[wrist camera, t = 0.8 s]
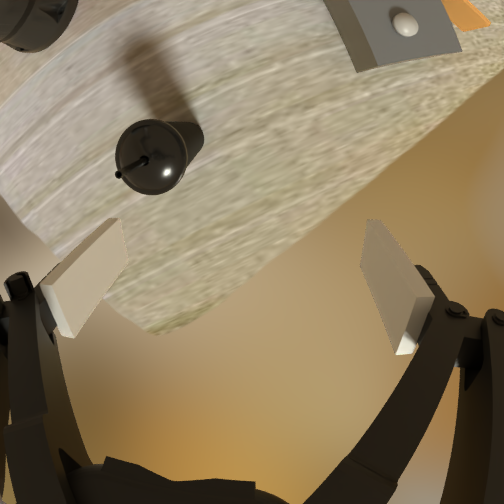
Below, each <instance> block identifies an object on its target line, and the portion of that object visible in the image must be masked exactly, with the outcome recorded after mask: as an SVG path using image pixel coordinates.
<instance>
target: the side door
mask: <svg viewBox="0 0 504 504" xmlns="http://www.w3.org/2000/svg"><path fill="white" fill-rule="evenodd" d="M441 1H442V3H443V5H444V7H445V9H446V12H447V14H448V16H449V18H450V21H452V22H453V23H454V24H455V25H456V26H457V27H458V28H459V29H461V30H462V31H463V32H465V31H469V30H474V29H478V28H483V27H488V26H490V24H491V22H490V21H489V20H488V19H487V18H486V17H485V16H484V15H483V14H482V13H481V12H480V11H479V10H478V9H477V8H476V7H475V6H474V5H473V4H472V3H470V2H469V1H468V0H441Z"/></svg>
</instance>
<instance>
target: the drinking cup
mask: <svg viewBox="0 0 504 504" xmlns="http://www.w3.org/2000/svg"><path fill="white" fill-rule="evenodd" d="M203 143H204V135H203V132H202V130H201V129H200V128H199V127H198V126H197V125H196V124H194V123H190V122H164V121H161V120H157V119H146V120H141V121H139V122H136V123H134V124H132V125H131V126H130V127H128V128H127V129H126V130H125V131H124V133H123V134H122V135H121V137H120V139H119V141H118V144H117V147H116V153H115V161H116V166H117V170H118V171H116V172H115V176H116V178H118V179H120V178H122V179H123V181H124V182H125V183H126V184H127V185H128V186H129V187H130V188H132V189H133V190H135V191H137V192H139V193H141V194H145V195H159V194H163V193H165V192H167V191H169V190H171V189H172V188H173V187H175V186H176V185H177V184H178V183H179V181H180V180H181V179H182V177H183V175H184V173H185V170H186V168H187V166H188V165H189V164H190V162H191V161H192V160H193V159H194V157H195V156H196V155H197V153H198V152H199V151H200V150H201V148H202V146H203Z"/></svg>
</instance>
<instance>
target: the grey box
mask: <svg viewBox="0 0 504 504" xmlns="http://www.w3.org/2000/svg"><path fill="white" fill-rule="evenodd" d="M323 1H324V3H325V4H326V6H327V8H328V10H329V12H330V14H331V16H332V18H333V20H334V22H335V24H336V26H337V28H338V31H339V33H340V35H341V37H342V39H343V41H344V44H345V46H346V48H347V50H348V53H349V55H350V57H351V60H352V62H353V64H354V67H355V69H356V72H357V73H358V72H362V71H366V70H370V69H374V68H378V67H383V66H387V65H391V64H396V63H401V62H406V61H411V60H417V59H422V58H428V57H434V56H439V55H445V54H451V53H457V52H462V49H461V46H460V43H459V41H458V38H457V35H456V33H455V30H454V28H453V26H452V23H451V21H450V18H449V16H448V14H447V12H446V9H445V7H444V5H443V3H442V1H441V0H323Z"/></svg>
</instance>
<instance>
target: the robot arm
mask: <svg viewBox="0 0 504 504" xmlns="http://www.w3.org/2000/svg"><path fill="white" fill-rule="evenodd" d="M77 3H78V0H0V42H2V43H4V44H6V45H8V46H10V47H11V48H13V49H15V50H17V51H19V52H24V53H35V52H39V51H42V50H44V49H46V48H47V47H49V46H50V45H51V44H53V43H54V42H55V41H56V40H57V39H58V38H59V37H60V36H61V34H62V33H63V32H64V31H65V29H66V28H67V26H68V25H69V23H70V21H71V19H72V17H73V15H74V13H75V10H76V7H77ZM128 263H129V259H128V254H127V250H126V245H125V240H124V236H123V231H122V226H121V221H120V218H109V219H107V220H106V221H105V222H104V223H103V224H102V225H101V226H99V227H98V228H97V229H96V230H95V231H94V232H93V233H92V234H90V235H89V236H88V237H87V238H86V239H85V240H84V241H83V242H82V243H81V244H79V245H78V246H77V247H76V248H75V249H74V250H73V251H72V252H71V253H70V254H69V255H68V256H67V257H66V258H65V259H64V260H63V261H62V262H60V263H59V264H57V265H56V266H55V267H54V268H53V269H52V271H50V272H49V273H48V274H47V276H45V277H44V278H43V279H42V280H41V281H40V282H39V283H38V284H37V286H36V287H35V288H33V285H32V283H31V280H30V278H29V275H28V273H27V272H24V271H23V272H17V273H15V274H13V275H11V276H10V277H9V278H7V280H6V281H5V282H4V286H5V289H6V291H7V293H8V295H9V297H10V300H11V301H5V302H3V299H2V297H1V295H0V504H6V503H5V502H3V501H2V495H3V490H4V482H5V462H6V461H5V460H6V456H7V462H8V468H9V473H10V477H11V481H12V486H13V491H14V494H15V498H16V502H17V503H16V504H289V503H287V502H286V501H284V500H283V499H281V498H279V497H277V496H275V495H273V494H270V493H267V492H265V491H261V490H258V489H256V487H255V482H252V481H237V480H225V479H216V478H215V479H205V480H193V481H171V480H169V479H166V478H164V477H162V476H160V475H158V474H156V473H153V472H152V471H150V470H147V469H145V468H144V467H142V466H140V465H137V464H133V463H129V462H125V461H122V460H118V459H115V458H111V457H108V456H106V458H105V461H104V464H94V465H93V463H92V462H91V460H90V458H89V456H88V454H87V452H86V449H85V446H84V443H83V441H82V438H81V435H80V432H79V429H78V426H77V423H76V419H75V416H74V413H73V409H72V406H71V402H70V399H69V395H68V391H67V387H66V383H65V379H64V375H63V371H62V366H61V361H60V356H59V352H58V346H57V340H56V336H55V334H54V332H53V330H54V329H55V327H56V326H57V327H58V329H59V331H60V333H61V335H62V336H65V337H70V338H75V337H76V335H77V334H78V332H79V331H80V329H81V328H82V326H83V325H84V323H85V322H86V320H87V319H88V318H89V316H90V315H91V313H92V312H93V310H94V309H95V307H96V306H97V305H98V303H99V302H100V300H101V299H102V298H103V296H104V295H105V293H106V292H107V291H108V289H109V288H110V287H111V285H112V284H113V283H114V281H115V280H116V278H117V277H118V276H119V274H120V273H121V272H122V271H123V269H124V268H125V267H126V265H127V264H128ZM360 267H361V269H362V272H363V274H364V276H365V279H366V281H367V284H368V286H369V288H370V291H371V293H372V296H373V298H374V300H375V303H376V305H377V308H378V310H379V313H380V315H381V318H382V321H383V323H384V325H385V328H386V331H387V334H388V336H389V339H390V342H391V344H392V347H393V350H394V353H395V355H401V354H411V353H413V351H414V348H415V346H416V344H417V343H418V345H419V348H418V350H417V352H416V353H415V355H414V357H413V359H412V361H411V362H410V364H409V366H408V368H407V369H406V371H405V373H404V375H403V376H402V378H401V380H400V381H399V383H398V385H397V386H396V388H395V390H394V391H393V393H392V394H391V396H390V397H389V399H388V401H387V402H386V403H385V405H384V407H383V408H382V410H381V411H380V413H379V414H378V416H377V417H376V418H375V420H374V421H373V423H372V424H371V426H370V427H369V428H368V430H367V431H366V432H365V434H364V435H363V436H362V438H361V439H360V441H359V442H358V443H357V444H356V446H355V447H354V448H353V450H352V451H351V452H350V453H349V454H348V455H347V456H346V457H345V458H344V459H343V460H342V461H341V462H340V463H339V465H338V466H337V467H336V468H335V469H334V470H333V472H332V473H331V474H330V475H329V476H328V477H327V478H326V480H325V481H324V482H323V483H322V484H321V485H320V486H319V488H317V489H316V491H315V492H314V493H313V494H312V495H311V496H310V497H309V498H308V499H307V500H306V501H305V502H304V503H303V504H387V503H388V501H389V500H390V498H391V496H392V495H393V493H394V492H395V490H396V488H397V486H398V484H397V482H398V479H399V478H400V476H401V474H402V473H403V471H404V469H405V468H406V466H407V464H408V463H409V461H410V459H411V458H412V456H413V454H414V452H415V451H416V449H417V447H418V445H419V443H420V441H421V439H422V437H423V436H424V434H425V432H426V430H427V428H428V426H429V424H430V422H431V420H432V417H433V415H434V413H435V411H436V409H437V407H438V404H439V402H440V400H441V398H442V395H443V393H444V390H445V388H446V386H447V383H448V381H449V378H450V375H451V373H452V370H453V367H460V383H459V398H458V410H457V419H456V426H455V434H454V440H453V447H452V452H451V458H450V463H449V468H448V473H447V477H446V481H445V486H444V490H443V494H442V498H441V501H440V504H504V312H503V311H501V310H498V309H489V310H488V311H487V312H486V314H485V316H484V318H477V317H471V316H469V313H468V311H467V309H466V308H465V307H464V306H462V305H461V304H459V303H457V302H453V301H449V300H448V298H447V297H446V295H445V294H444V292H443V291H442V290H441V288H440V287H439V285H437V282H436V281H435V279H433V277H432V275H431V274H430V272H429V271H428V270H426V269H425V268H424V267H422V266H421V265H414V264H413V263H412V262H411V260H410V259H409V257H408V256H407V255H406V253H405V252H404V250H403V249H402V248H401V246H400V245H399V243H398V242H397V241H396V239H395V238H394V237H393V235H392V234H391V233H390V231H389V230H388V229H387V228H386V226H385V225H384V223H383V222H382V221H381V220H367V225H366V232H365V239H364V245H363V251H362V257H361V263H360ZM9 411H11V420H12V424H11V425H8V420H9Z"/></svg>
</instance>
